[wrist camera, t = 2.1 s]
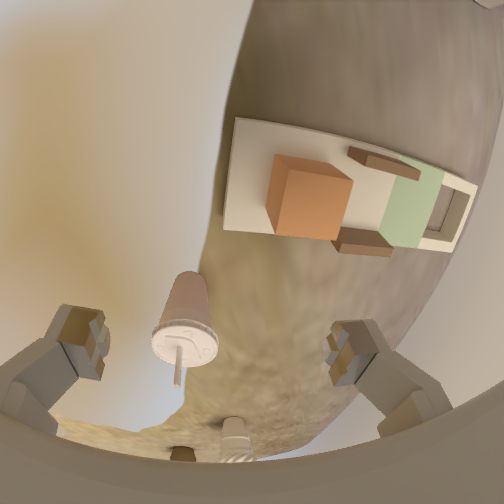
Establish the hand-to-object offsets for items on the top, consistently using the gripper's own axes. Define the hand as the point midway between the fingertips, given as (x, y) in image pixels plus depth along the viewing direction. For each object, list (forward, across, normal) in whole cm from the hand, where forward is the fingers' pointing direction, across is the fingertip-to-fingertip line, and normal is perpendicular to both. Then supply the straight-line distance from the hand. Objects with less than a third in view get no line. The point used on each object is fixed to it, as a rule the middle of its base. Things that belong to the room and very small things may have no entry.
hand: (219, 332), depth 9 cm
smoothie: (+20, +2, +14) cm, 24 cm away
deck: (+20, -16, 0) cm, 25 cm away
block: (+17, -7, 0) cm, 18 cm away
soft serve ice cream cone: (+20, -7, +54) cm, 58 cm away
